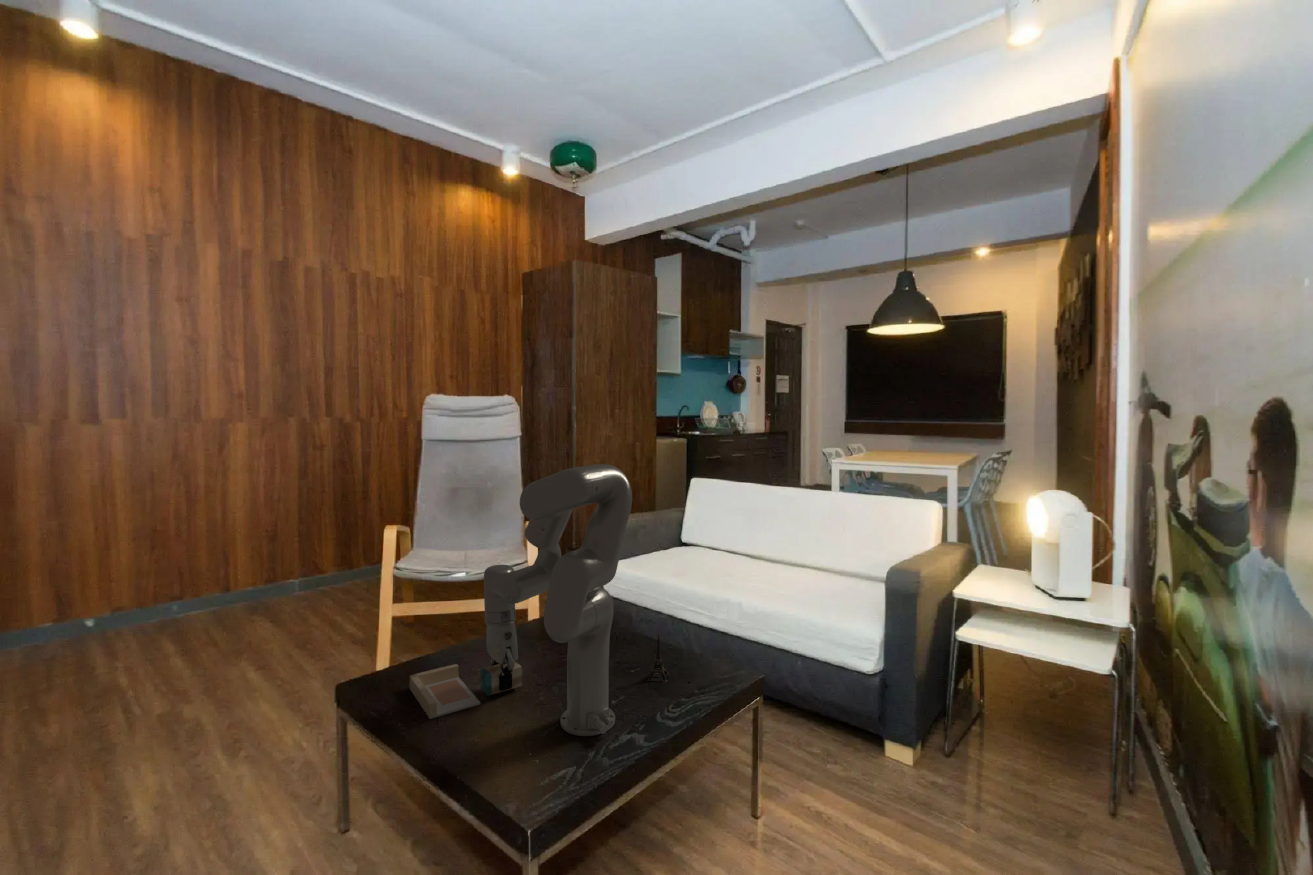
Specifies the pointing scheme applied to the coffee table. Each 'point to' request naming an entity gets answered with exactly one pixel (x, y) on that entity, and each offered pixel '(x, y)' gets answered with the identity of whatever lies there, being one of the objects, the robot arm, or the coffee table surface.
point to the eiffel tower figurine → (657, 665)
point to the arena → (441, 691)
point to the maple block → (492, 678)
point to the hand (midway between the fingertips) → (501, 684)
